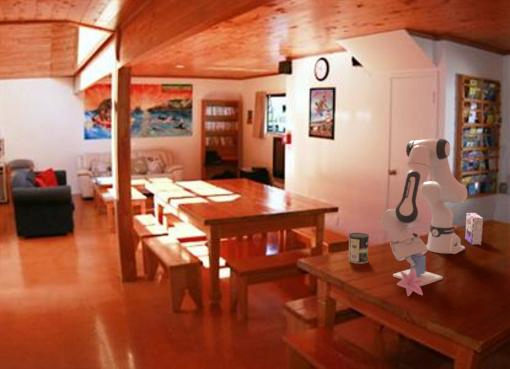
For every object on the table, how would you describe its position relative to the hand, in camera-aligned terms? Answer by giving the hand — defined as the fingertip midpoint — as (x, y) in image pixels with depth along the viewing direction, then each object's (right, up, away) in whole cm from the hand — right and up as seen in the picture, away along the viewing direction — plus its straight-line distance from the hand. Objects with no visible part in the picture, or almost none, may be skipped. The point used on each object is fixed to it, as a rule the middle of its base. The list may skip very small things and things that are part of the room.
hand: (419, 264), depth 230 cm
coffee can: (-23, -3, +28) cm, 36 cm away
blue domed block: (0, -4, +1) cm, 4 cm away
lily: (-10, -10, -17) cm, 22 cm away
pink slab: (0, -7, +2) cm, 7 cm away
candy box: (+54, +3, +63) cm, 83 cm away
